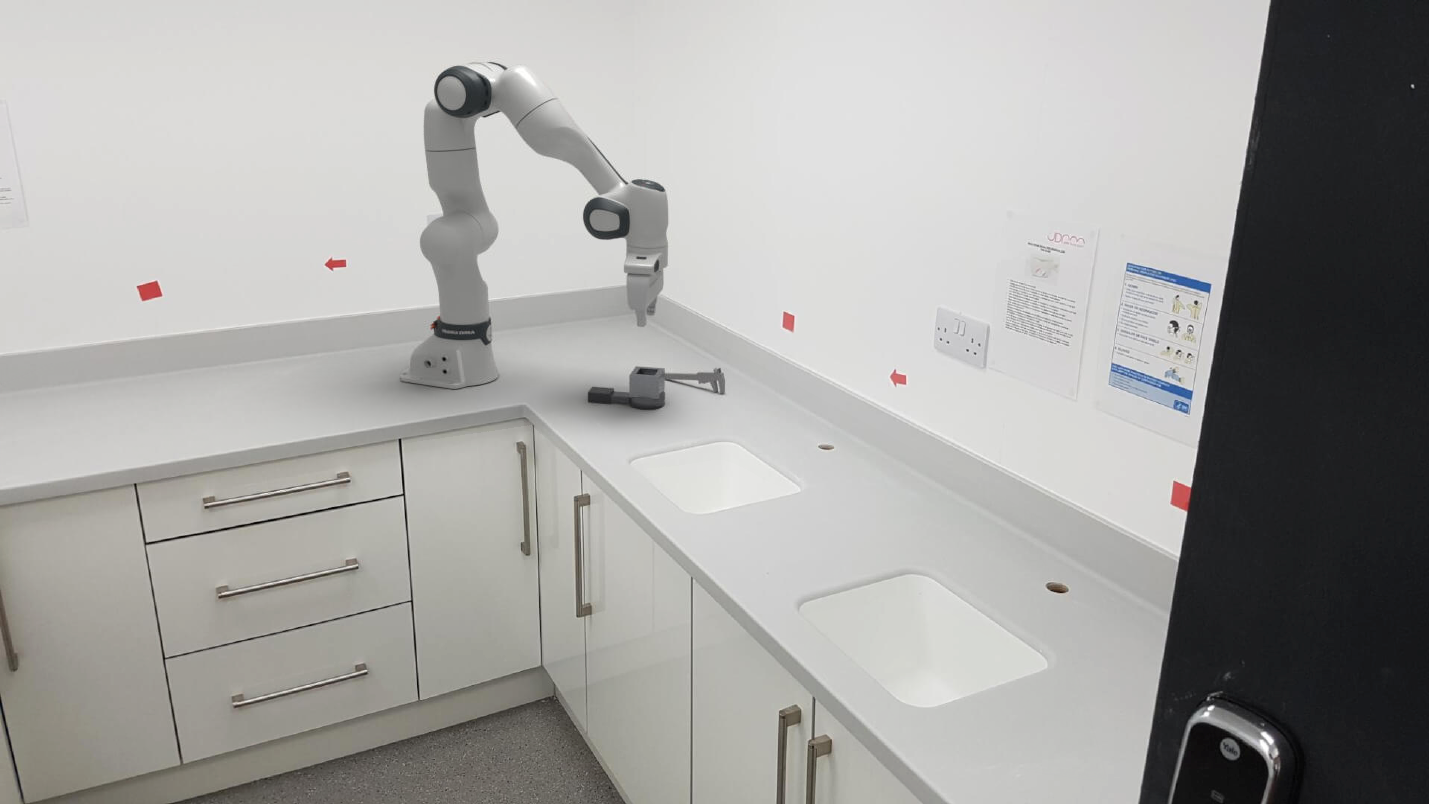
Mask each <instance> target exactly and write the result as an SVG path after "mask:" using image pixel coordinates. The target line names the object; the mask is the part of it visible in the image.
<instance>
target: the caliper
mask: <svg viewBox="0 0 1429 804" xmlns="http://www.w3.org/2000/svg"><path fill="white" fill-rule="evenodd" d="M665 380H670V381H671V380H673V381H675V380H677V381H679V380H680V381H681V380H682V381H698V385H701V384H703V385H704V384H707V383H709V384H710V387H711V388H712V391H713V393H715V394H716V393H719V392H720V395H722V394H724V393H725V391H726V379H725V374H724V372H722V368H721V367H718V368H717V367H714V368H713V371H698V372H697V373H696V372H695V373H694V372H692V373H691V372H665ZM718 386H719V387H718Z"/></svg>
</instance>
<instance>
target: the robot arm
mask: <svg viewBox="0 0 1429 804" xmlns="http://www.w3.org/2000/svg"><path fill="white" fill-rule="evenodd" d="M433 89H434V90H433V94H434V98H433V99H431V100H430V101H429V102H427V104H426V106H425V108H424V110H423V112H424V113H423V114H424V115H423V143H424V144H423V145H424V155H425V160H426V161H425V162H426V169H427V170H426V171H427V178H428V184H429V188H430V189H431V190H432V191H433V192H434V193H435V195H436V196H437V199H438V201H439V203H440V207H441V210H442V216H439V217H437V218H435V219H434V220H432V221H431V222H430V223H429V224H428V225H427V226H426V227H425V228H424V229H423V231H422V232H421V234H420V237H419V246H420V250H421V253H422V255H423V256H424V258H425V259H426V260H427V261H428V262H429V263H430V265H431V267H432V270H433V273H434V277H435V281H436V284H437V285H436V286H437V290H438V300H439V301H438V302H439V316H437V318H436V319H435V320H434V321H432V323H431V324H430V330H433V334H431V335H430V336H429V337H428V338H426V339H425V340H424V341H423V342H422V343H420V344H419V345H418V346H417V347H415V348H414V349H413V351H412V353H411V355H410V359H409V366H407V367H406V368H404V369H403V370H402V371H401V372H400V378H399V379H400V381H401V382H406V383H410V384H411V383H412V384H419V385H423V386H424V385H425V386H431V387H438V388H444V389H452V390H457V389H461V388H465V387H470V386H477V385H478V386H479V385H483V384H487V383H490V382H493V381H495V380H497V379H498V378H499V376H500V375H499V374H500V373H499V371H498V368H497V365H496V361H495V358H494V353H493V347H492V341H493V326H492V318H491V317H490V310H489V309H490V307H489V306H490V305H489V288H488V284H487V282H486V281H485V280H484V279H483V277H482V274H481V271H480V268H479V263H478V256H479V255H480V254H483V253H485V252H486V251H488V250H489V249H490V248H491V246H492V245H493V244H494V243H495V242H496V240H497V238H498V235H499V224H498V221H497V218H496V217H495V216H494V215H493V213H492V212H491V211H490V209H489V206H488V202H487V199H486V197H485V194H484V192H483V188H482V183H481V178H480V172H479V171H480V169H479V162H478V154H477V144H476V143H477V142H476V136H475V126H476V123H477V121H478V119H480V118H488V117H490V116H492V115H496V114H499V113H502V114H504V115H505V116H506V118H507V119H508V120H509V122H510V123H511V125H512V126H513V127H514V128H513V129H514V130H516V132H517V134H518V135H519V136H520V138H521V139H522V140H523V142H525V144H527V146H528V147H529V148H531V149H532V150H533V151H534V152H535V153H536V154H538V155H540V156H542V157H546V158H552V159H556V160H558V161H559V160H560V161H562V162H565V163H567V164H569V165H571V166H572V167H574V168H575V169H577V170H578V172H580V174H582V176H583V177H584V179H585V180H586V181H587V182H588V184H590V185H591V186H590V187H592V188H593V189H594V191H596V193H597V194H598V195H597V196H594V197H593V198H592V199H590V200H589V201H588V202H587V203H586V204H585V206H584V209H583V212H582V221H583V224H584V227H585V229H586V231H587V232H588V233H589V235H591V236H592V237H593V238H596V240H597V239H598V240H603V241H609V240H610V241H611V240H616V239H625V241H626V243H625V244H626V248H625V249H626V252H625V256H626V257H625V260H624V263H623V273H624V274H626V294H627V295H626V296H627V304H628V308H629V310H632V311H634V312H635V313H634V314H635V316H636V325H637V327H640V328H645V326H646V325H647V323H648V322H647V316H654V315H655V314H656V312H657V311H656V309H657V308H656V306H657V301H658V295H659V294H660V293H661V292H662V291H663V289H664V269H666V268H667V267H668V265H669V263H668V262H669V257H668V255H669V241H668V237H667V230H668V226H669V201H668V196H667V195H668V194H667V190H666V188H665V187H664V186H663V185H661V184H660V183H658V182H657V181H653V180H649V179H640V178H638V179H632V180H631V181H629V182H628V181H626V180H625V178H624V177H622V176H621V174H619V172H618V171H617V170H616V168H615V167H614V166H613V165H612V163H611V162H610V161H609V160H608V158H606V156H605V155H604V154H603V153H602V151H601V150H600V149H599V148H598V147H597V145H596V143H594V142H593V141H592V139H590V137H588V135H586V133H585V132H584V131H583V130H582V128H580V126H579V125H578V124H577V123H576V122H575V120H574V119H573V118H572V116H571V115H570V114H569V112H568V111H567V110H566V108H565V106H563V104H562V103H561V101H560V100H559V98H558V97H557V96H556V95H555V93H554V92H553V90H552V89H551V88H550V87H549V86H548V85H547V84H546V82H545V81H544V80H543V78H541V77H540V76H539V75H538V74H537V72H535V71H534V70H533V69H532V68H531V67H529V66H528V65H525V64H524V65H523V64H518V65H517V64H516V65H513V66H510V67H507V66H505V65H503V64H500V63H499V62H493V61H487V62H483V61H480V62H479V61H477V62H476V61H475V62H469V63H466V64H462V65H452V66H450V67H448V68H446V69H445V70H443V71H442V72H441V73H440V74H439V75H438V76H437V78H436V79H435V82H434V86H433Z"/></svg>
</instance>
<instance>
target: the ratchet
mask: <svg viewBox="0 0 1429 804" xmlns="http://www.w3.org/2000/svg"><path fill="white" fill-rule="evenodd" d="M587 403H593V404H602V405H603V404H604V405H611V404H612V405H613V404H617V405H627V406H628V405H629V407H630V408H633V409H636V410H642V411H644V410H645V411H647V410H648V411H653V410H658V409H661V408H664V406H665V405H666V392H665V390H664V391H663V393H662V395H661V396H660V398H659V399H651V398H638V397H629V392H624V391H615V387H605V386H603V387H602V386H591V388H590V389H589V390H588V392H587Z"/></svg>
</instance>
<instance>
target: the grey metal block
mask: <svg viewBox="0 0 1429 804" xmlns="http://www.w3.org/2000/svg"><path fill="white" fill-rule="evenodd" d="M665 373H666V369H665V368H664V367H654V366H653V367H651V366H650V367H649V366H638V365H636V366H635V367H634V368H633V370H632V371H631V373H630V374H629V376H628V377H629V381H628V382H629V383H628V384H629V385H628V386H629V387H628V389H629V397H638V398H651V399H659V398H660V396H661V395H662V393H663V391H664V392H665V390H666V389H665V387H666V385H665V384H666V383H665V380H666V379H665Z"/></svg>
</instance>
